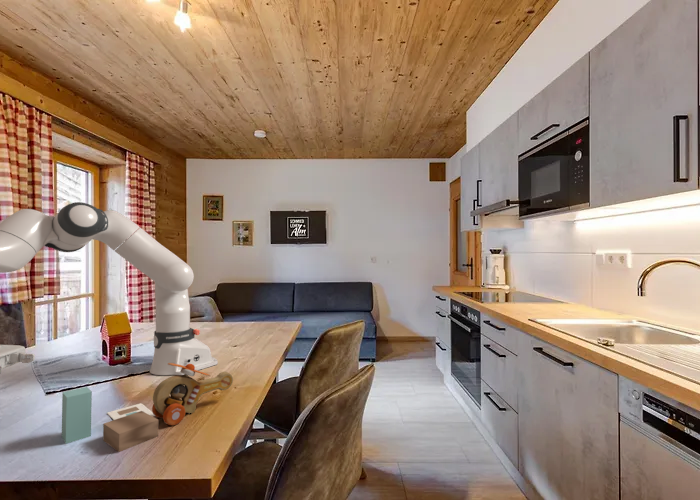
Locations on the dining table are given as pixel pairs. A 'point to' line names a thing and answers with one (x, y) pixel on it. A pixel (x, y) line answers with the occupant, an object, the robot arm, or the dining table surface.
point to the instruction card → (129, 411)
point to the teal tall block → (76, 414)
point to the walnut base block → (130, 430)
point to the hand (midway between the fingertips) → (16, 364)
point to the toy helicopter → (184, 393)
